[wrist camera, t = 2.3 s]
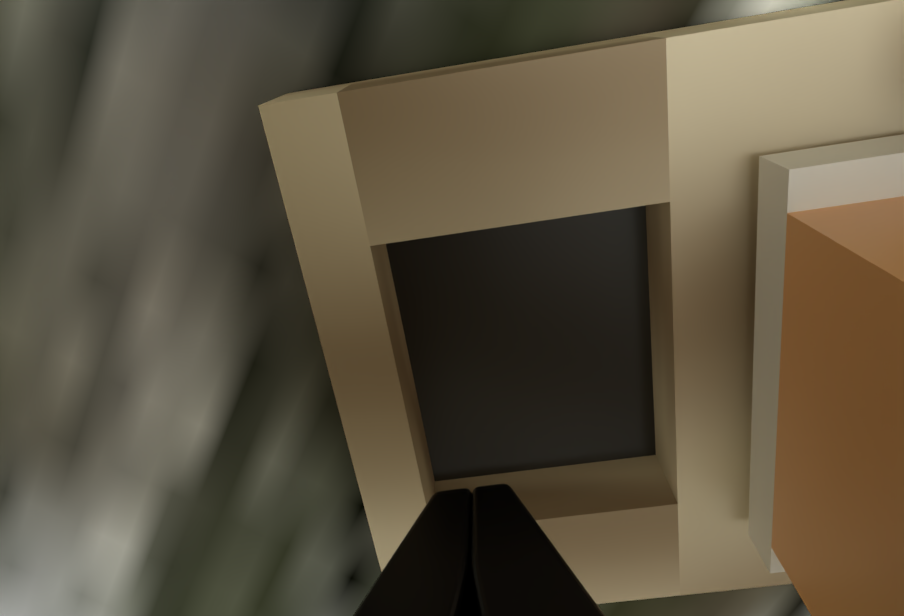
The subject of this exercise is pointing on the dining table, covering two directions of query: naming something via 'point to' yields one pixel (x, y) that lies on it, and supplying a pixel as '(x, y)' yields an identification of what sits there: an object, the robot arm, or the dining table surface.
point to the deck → (570, 275)
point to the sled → (831, 375)
